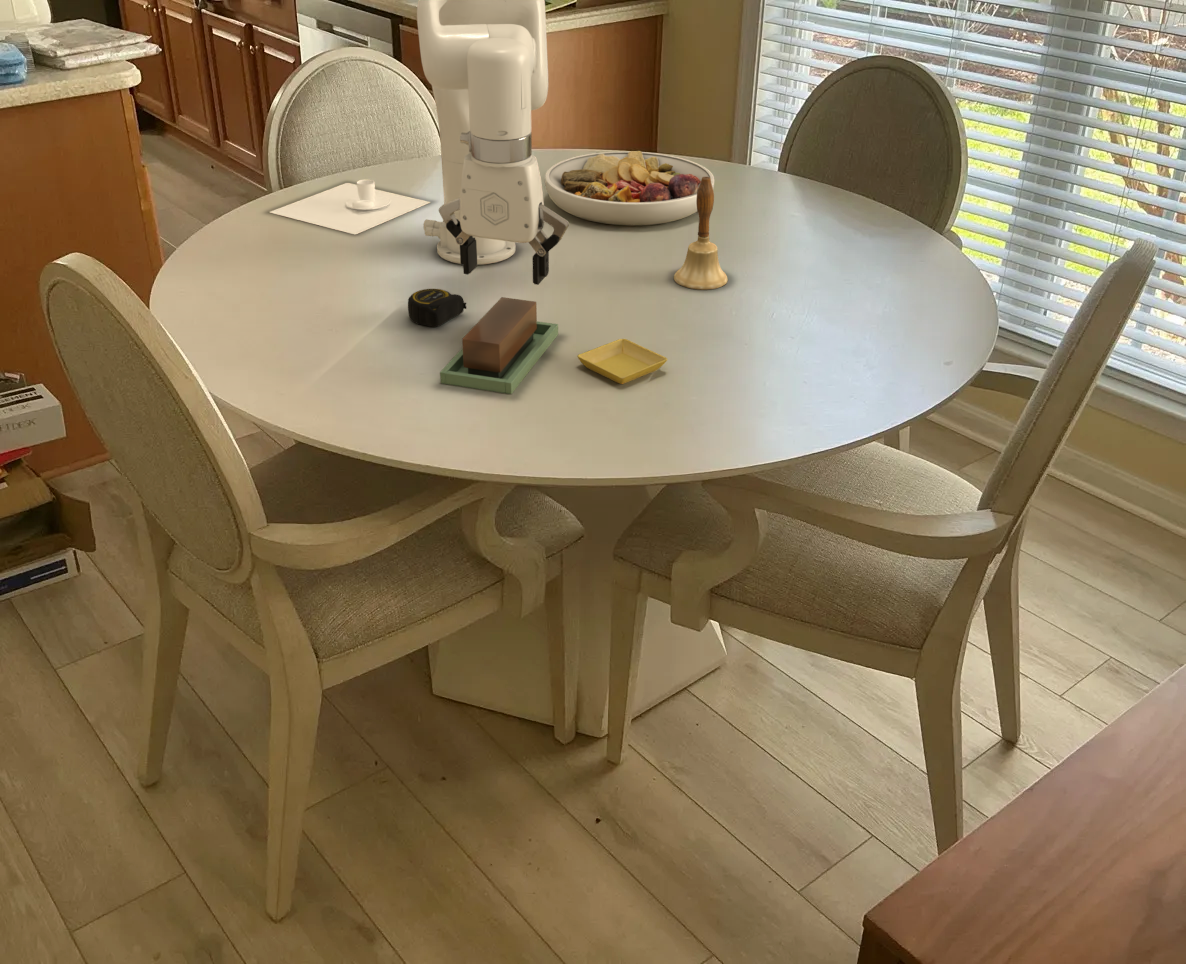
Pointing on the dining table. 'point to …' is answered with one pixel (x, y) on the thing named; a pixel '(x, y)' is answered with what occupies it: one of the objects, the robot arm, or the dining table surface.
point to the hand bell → (702, 249)
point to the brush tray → (514, 376)
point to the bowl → (626, 187)
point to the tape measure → (434, 306)
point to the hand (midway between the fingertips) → (504, 275)
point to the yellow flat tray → (622, 360)
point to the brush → (499, 337)
